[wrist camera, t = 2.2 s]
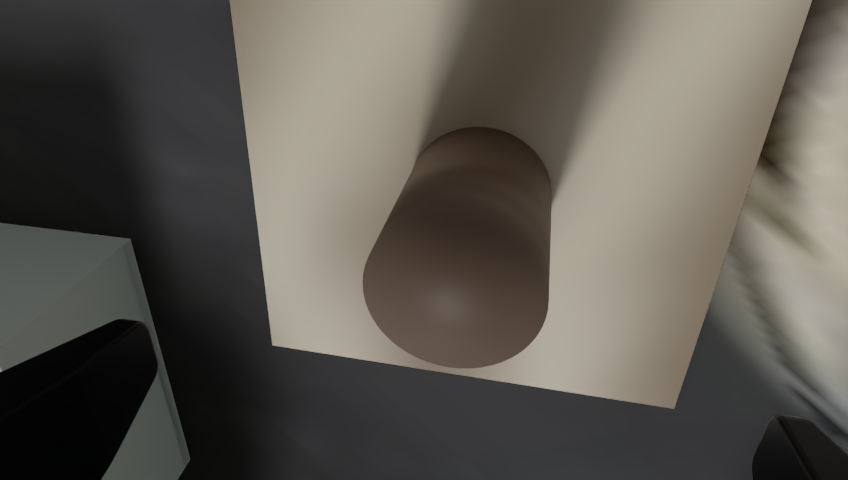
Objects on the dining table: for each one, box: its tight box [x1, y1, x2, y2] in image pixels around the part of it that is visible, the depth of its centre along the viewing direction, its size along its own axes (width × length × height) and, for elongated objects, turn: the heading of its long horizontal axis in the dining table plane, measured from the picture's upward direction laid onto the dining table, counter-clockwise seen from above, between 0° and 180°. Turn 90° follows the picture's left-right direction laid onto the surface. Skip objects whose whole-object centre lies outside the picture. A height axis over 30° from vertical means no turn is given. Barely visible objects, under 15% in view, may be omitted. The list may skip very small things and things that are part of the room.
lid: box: [230, 0, 812, 409], centre depth 12 cm, size 11×11×5 cm
